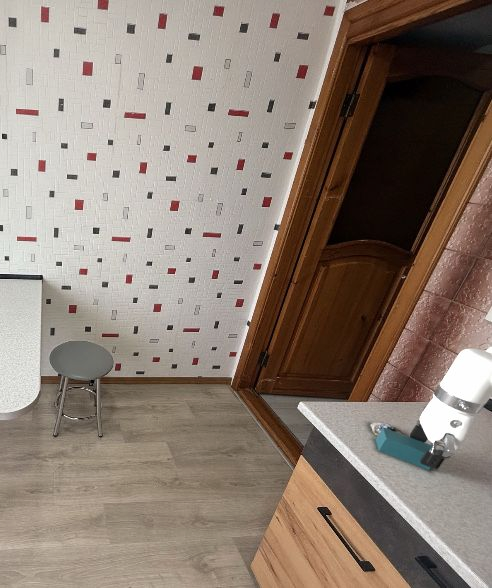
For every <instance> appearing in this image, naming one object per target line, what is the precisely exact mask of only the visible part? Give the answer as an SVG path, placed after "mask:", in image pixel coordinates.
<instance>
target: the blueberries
mask: <svg viewBox="0 0 492 588" xmlns="http://www.w3.org/2000/svg"><path fill="white" fill-rule="evenodd" d="M370 428H371V429H372V431H371V432H373V434H374V435H375V436H376V437H377V436H378V435H379V433H380V431H381V430H382V428H386V429H388V430H391V431H394V432H397V433H399V434H402V431H401V430H400V429H398V428H396V427H394V426H392V425H391V424H390V423H388V422H380V421H379V422H373V423H370Z"/></svg>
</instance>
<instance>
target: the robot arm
mask: <svg viewBox="0 0 492 588" xmlns="http://www.w3.org/2000/svg"><path fill="white" fill-rule="evenodd" d="M491 398H492V346H489V348H487V349H486V350H483V349H479V348H470V347H469V348H465V349H462V350H461V351H460V352H459V353H458V355H457V356H456V357H455V359H454V361H453V363H452V364H451V366H450V367H449V369H448V370H447V372H446V374H445V375H444V377H443V378H442V380H441V381H440V383H439V385H438V386H437V388H436V389H435V391H434V392H433V394H432V398H431V400H430V401H429V402H428V404H427V405H425V406H424V407H423V411H422V413H420V415H419V419H418V420H417V421H416V424H415V425H414V427H413V428H412V430H411V432H410V433H409V436H408V437H410V438H413V439H416V440H418V441H421V442H424V443H427V441H429V442H430V444H429V445H430V451H429V450H427V451H426V452H425V454H424V455H423V457H422V458H421V459H420V463H421V464H423V465H426V466H428V467H431V468H430V469H433V470H438V469H439V468H440V467H441V466H442V464H443V463H444V462H445V460H448V459H450V458H451V457H452V456H454V455H455V454H456V451H458V450H459V449H460V447H461V446H462V445H463V443H464V441H465V440H466V438H467V436H468V434H469V433H470V431H471V428H472V427H473V424H474V422H475V419H476V416H478V415H479V414H480V413H481V411H482V409H483V408H484V407H485V405H486V404H487V403H488V401H489V400H490V399H491ZM440 441H441V442H440ZM442 442H443V443H442ZM437 446H439V447H441V448H440V449H437Z"/></svg>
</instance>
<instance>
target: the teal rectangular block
mask: <svg viewBox="0 0 492 588" xmlns="http://www.w3.org/2000/svg"><path fill="white" fill-rule="evenodd" d="M375 444H376V446H377V449H378V451H379V452H381V453H384V454H386V455H389V456H391V457H394V458H396V459H399V460H402V461H405V462H406V463H409V464H412V465H414V466H417V467H420V468H422V469H424V470H427V471H430V470H431V469H432V468H431V467H428V466H426V465H423V464H421V463H420V459H421V458H422V457H423V455H424V454H425V452H426V451H427V450H429V451H430V445H431V444H429V443H427V442H425V443H424V442H421V441H418V440H416V439H413V438H410V436H407V435H404V434H403V433H401V434H399V433H397V432H394V431H391V430H388V429H386V428H382V430H381V431H380V433H379V435H378V436H377V435H376V438H375Z"/></svg>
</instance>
